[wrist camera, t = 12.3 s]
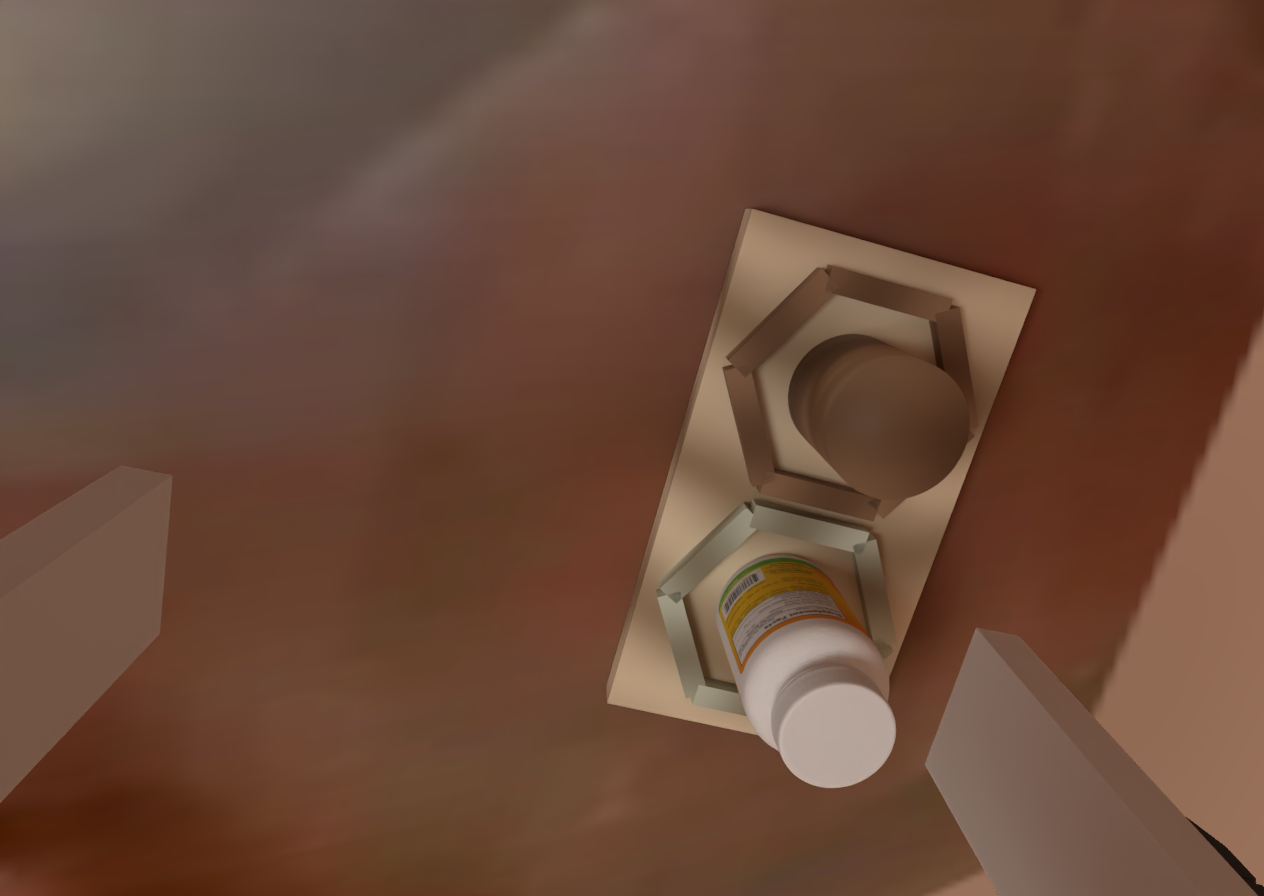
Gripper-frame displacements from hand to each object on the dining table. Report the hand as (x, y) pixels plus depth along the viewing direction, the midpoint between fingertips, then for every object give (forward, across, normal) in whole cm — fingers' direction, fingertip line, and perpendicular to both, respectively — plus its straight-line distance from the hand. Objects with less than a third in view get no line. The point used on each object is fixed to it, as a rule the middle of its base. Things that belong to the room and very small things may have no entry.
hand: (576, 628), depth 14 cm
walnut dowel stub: (+22, +11, +1) cm, 25 cm away
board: (+23, +11, -4) cm, 26 cm away
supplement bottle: (+22, +10, -9) cm, 26 cm away
